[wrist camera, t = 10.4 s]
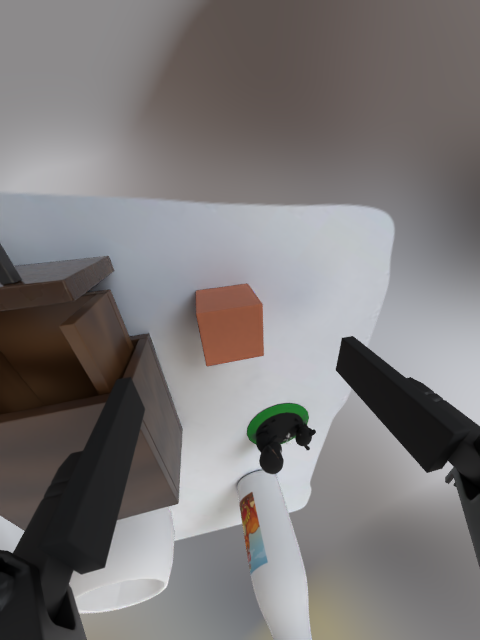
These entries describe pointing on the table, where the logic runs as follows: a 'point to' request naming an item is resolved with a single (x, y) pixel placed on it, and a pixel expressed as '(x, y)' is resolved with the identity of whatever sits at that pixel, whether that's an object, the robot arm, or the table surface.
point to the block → (230, 323)
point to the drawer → (58, 333)
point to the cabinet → (72, 435)
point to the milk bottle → (274, 557)
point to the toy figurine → (279, 433)
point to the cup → (129, 565)
